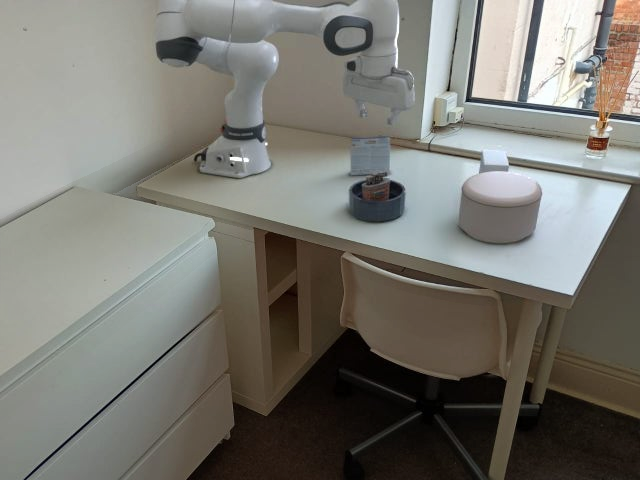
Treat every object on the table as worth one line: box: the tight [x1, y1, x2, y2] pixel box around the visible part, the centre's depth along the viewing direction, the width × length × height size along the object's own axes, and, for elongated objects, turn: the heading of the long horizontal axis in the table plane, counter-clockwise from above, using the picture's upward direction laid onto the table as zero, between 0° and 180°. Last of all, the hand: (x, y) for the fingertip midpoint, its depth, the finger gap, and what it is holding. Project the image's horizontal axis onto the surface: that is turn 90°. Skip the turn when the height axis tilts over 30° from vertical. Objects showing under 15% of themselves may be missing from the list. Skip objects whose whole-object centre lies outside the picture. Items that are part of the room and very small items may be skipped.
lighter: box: [362, 171, 391, 201], centre depth 175 cm, size 8×3×10 cm, turn 113°
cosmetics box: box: [478, 149, 510, 174], centre depth 178 cm, size 10×6×10 cm, turn 166°
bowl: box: [348, 179, 407, 222], centre depth 176 cm, size 14×14×6 cm
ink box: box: [349, 135, 391, 176], centre depth 195 cm, size 12×2×12 cm, turn 84°
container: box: [458, 171, 543, 244], centre depth 161 cm, size 18×18×12 cm
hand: (376, 120), depth 169 cm, fingers open, 8 cm apart
